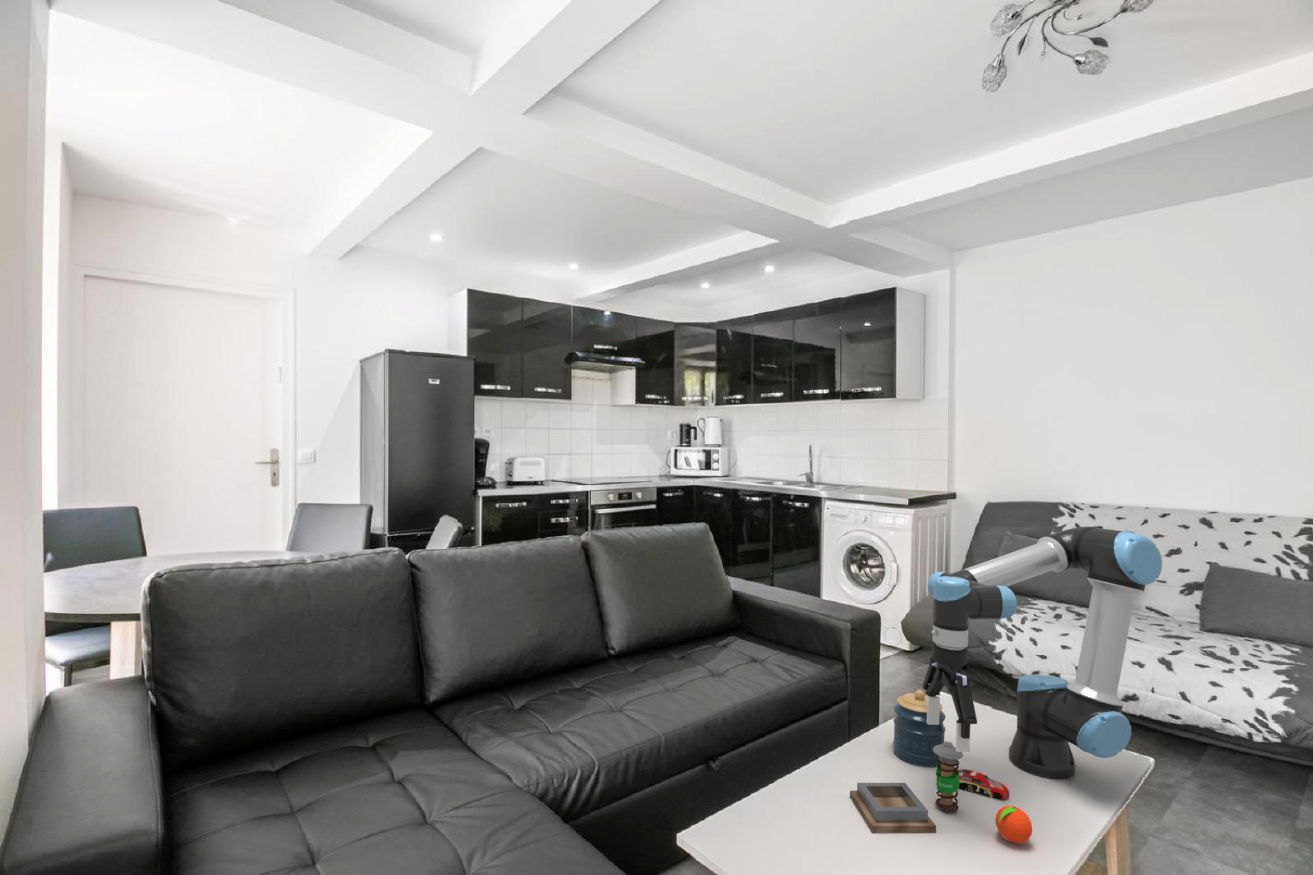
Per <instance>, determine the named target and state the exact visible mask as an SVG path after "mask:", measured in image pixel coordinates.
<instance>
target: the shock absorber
mask: <svg viewBox="0 0 1313 875" xmlns="http://www.w3.org/2000/svg"><path fill="white" fill-rule="evenodd" d="M933 751H934V753H935V754H937V755H939V756H937V758H936V759H937V761H938V762H939V763H937V766H935V768H936V772H935V778H936V779H935V780H936V783H935V785H936V790H937V791H936V792H935V794H936V796H937V797H939V798H936V799H935V803H934V804H935V805H936V806H937V807H938V808H939V809H941V810H942V811H945V812H956V811H958V809H959V805H958V804H959V801H958V795H959V791H958V790H960V789H959V770H958V769H960V768H959V767H960V766H959V765H960V761H959V760H960V759H962V758H963V757H964V754H963V752H957V751H956V746H955V745H954V744H953V743H952V742H949V741H944V742H943V744H940V745H936V746H935V747H934V748H933ZM939 760H940V761H939ZM954 793H955V794H954ZM954 800H955V801H954Z"/></svg>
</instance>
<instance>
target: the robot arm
mask: <svg viewBox="0 0 1313 875" xmlns="http://www.w3.org/2000/svg"><path fill="white" fill-rule="evenodd" d="M1162 558H1163V557H1162V555H1161V552H1160V550H1159V548H1158V547H1157V544H1156V543H1155V542H1154V541H1153V540H1152V539H1151V538H1149V537H1147V536H1145V535H1142V534H1139V533H1138V534H1137V533H1134V532H1131V531H1123V530H1116V529H1107V528H1101V527H1095V526H1079V527H1078V526H1077V527H1072V528H1069V529H1065V530H1064V529H1063V530H1062V531H1057V532H1054V533H1051V534H1049V535H1046V536H1042V537H1040V538H1038V540H1037V542H1036V543H1035V544H1031V545H1029V546H1026V547H1023V548H1020V549H1018V550H1014V551H1013V552H1009V553H1006V554H1004V555H1001V556H1000V555H999V556H998V557H995V558H993V559H990V560H987V561H984V562H980V563H978V564H976V565H972V566H970V567H966V568H964V569H961V570H957V571H955V572H953V573H952V572H951V573H950V572H947V571H937V572H934V573H933V574H932V575H931V576H930V577H929V579H928V582H927V590H928V593H929V594H930V596H931V597H932V598H933V600H932V602H933V604H932V605H933V606H932V611H933V612H932V613H933V614H932V630H931V635H932V641H933V643H932V645H931V656H930V657H929V665H928V669H927V671H926V674H925V677H924V680H923V683H922V690H923V691H925V695H928V698H927V724H928V725H939V712H940V704H941V697H940V696H941V691H942V689H943V688H944V686H945V687H946V688H947V691H948V692H949V693H950V694H951V699H952V701H953V704H954V708H955V711H956V714H957V718H958V719H957V720H956V721H955V722H956V727H955V729H956V730H955V748H956V751H957V752H962V753H970V747H971V746H970V743H971V742H970V740H971V725H977V724H978V719H977V715H976V714H977V713H976V710H975V704H974V700H973V694H972V689H971V677H970V676H969V675H964V674H963V673H962V668H963V667H965V666H967V664H968V657H969V656H968V654H969V653H968V648H967V647H968V646H969V627H970V626H969V624H970V620H1001V619H1008V618H1011V617H1012V616H1014V615H1015V613H1016V611H1017V607H1018V601H1017V597H1016V595H1015V593H1014V592H1013V591H1012V589H1010V586H1013V585H1015V584H1018V583H1022V582H1023V581H1026V580H1029V579H1032V578H1035V577H1037V576H1040V575H1043V574H1046V573H1049V572H1051V571H1052V572H1055V573H1061V572H1064V571H1067V570H1077V571H1079V570H1080V571H1085V572H1087V577H1086V578H1087V581H1088V583H1089V584H1090V585H1091V587H1092V590H1091V595H1090V600H1089V606H1088V611H1087V618H1086V622H1085V627H1084V632H1083V637H1082V643H1081V649H1080V652H1079V658H1078V663H1077V668H1076V669H1077V670H1076V673H1075V674H1076V675H1075V679H1074V681H1073V682H1071V683H1069V681H1068V680H1066V679H1065V678H1061V677H1058V676H1053V675H1048V674H1026V675H1025V674H1024V675H1022V676H1020V677H1019V678H1018V681H1017V689H1016V730H1015V734H1014V736H1013V739H1012V740H1011V744H1010V746H1009V747H1008V758H1009V761H1010V762H1011V763H1012V764H1013V765H1014V766H1016V767H1018V768H1019V769H1021V770H1022V771H1025V772H1027V773H1030V774H1032V775H1034V776H1038V777H1042V778H1047V779H1055V780H1067V779H1070V778H1073V777H1074V776H1075V775H1076V766H1077V765H1076V761H1075V758H1074V755H1073V752H1072V749H1071V745H1070V744H1072V745H1073V746H1075V747H1077V748H1079V749H1080V751H1081V750H1082V751H1083V753H1084V752H1085V753H1089V754H1090V755H1093V756H1095V757H1097V758H1103V759H1108V758H1112V757H1115V756H1117V755H1118V754H1119V753H1121V752H1122V751H1123V750H1124V749H1126V747H1127V746H1128V744H1129V742H1130V740H1131V737H1132V726H1131V724H1130V721H1129V719H1128V718H1127V717H1126V716H1125V715H1124V714H1122V712H1123V708H1124V707H1123V706H1124V703H1123V702H1122V701H1121V699H1120V697H1119V696H1118V689H1119V685H1120V684H1119V683H1120V678H1121V673H1122V667H1123V663H1124V658H1125V653H1126V647H1127V641H1128V637H1129V632H1130V631H1129V630H1130V626H1131V621H1132V615H1133V610H1134V604H1135V600H1136V597H1137V596H1139V595H1141V594H1143V593H1145V589H1146V586H1147V585H1150V584H1153V583H1155V582H1156V579H1158V578H1160V575H1161V573H1162V569H1163V559H1162Z"/></svg>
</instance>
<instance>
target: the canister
mask: <svg viewBox="0 0 1313 875" xmlns="http://www.w3.org/2000/svg"><path fill="white" fill-rule="evenodd" d="M927 698H928V695H927V694H926V693H925V692H924V690H921V689H917V690H915V691H914V692H908V693H905V694H903V695H900V696H899V697H897V700H896V701H897V703H896V704H895V705H894V706H893V710H894V713H895V717H894V718H893V726H894V728H893V742H892V744H893V745H892V748H893V752H894V753H895V755H896V756H897V757H898V758H899V759H901V760H902V761H904V762H906V763H909V764H912V765H915V766H921V767H937V763H939V762H938V761H937V759H936V758H937V756H939V755H937V754H935V753H934V751H933V748H934V747H935V746H936V745H940V744H943V742H945V733H946V726H945V725H944V721H945V720H946V714H945V712H943V711H942V710H943V705H942V704H941V703H940V712H939V725H928V724H927ZM939 761H940V760H939Z"/></svg>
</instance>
